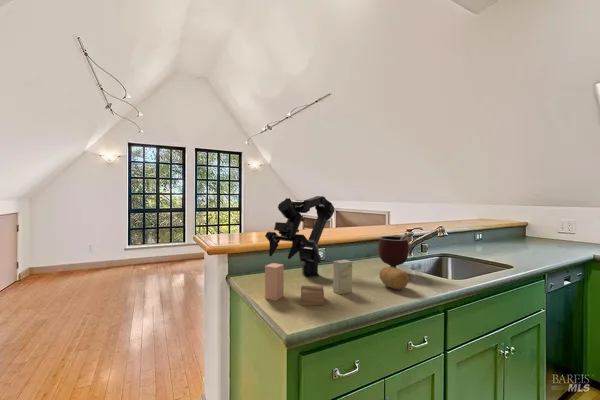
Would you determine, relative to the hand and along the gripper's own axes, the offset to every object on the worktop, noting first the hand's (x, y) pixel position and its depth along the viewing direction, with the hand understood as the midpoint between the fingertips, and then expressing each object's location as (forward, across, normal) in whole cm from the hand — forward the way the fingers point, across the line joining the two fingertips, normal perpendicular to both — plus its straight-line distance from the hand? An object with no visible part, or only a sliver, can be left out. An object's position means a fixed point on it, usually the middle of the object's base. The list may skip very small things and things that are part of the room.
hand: (279, 257), depth 114 cm
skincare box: (+3, +22, +17) cm, 29 cm away
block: (+15, +4, +2) cm, 16 cm away
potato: (-6, +38, +30) cm, 49 cm away
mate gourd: (-20, +33, +47) cm, 61 cm away
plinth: (+12, +17, +6) cm, 22 cm away
